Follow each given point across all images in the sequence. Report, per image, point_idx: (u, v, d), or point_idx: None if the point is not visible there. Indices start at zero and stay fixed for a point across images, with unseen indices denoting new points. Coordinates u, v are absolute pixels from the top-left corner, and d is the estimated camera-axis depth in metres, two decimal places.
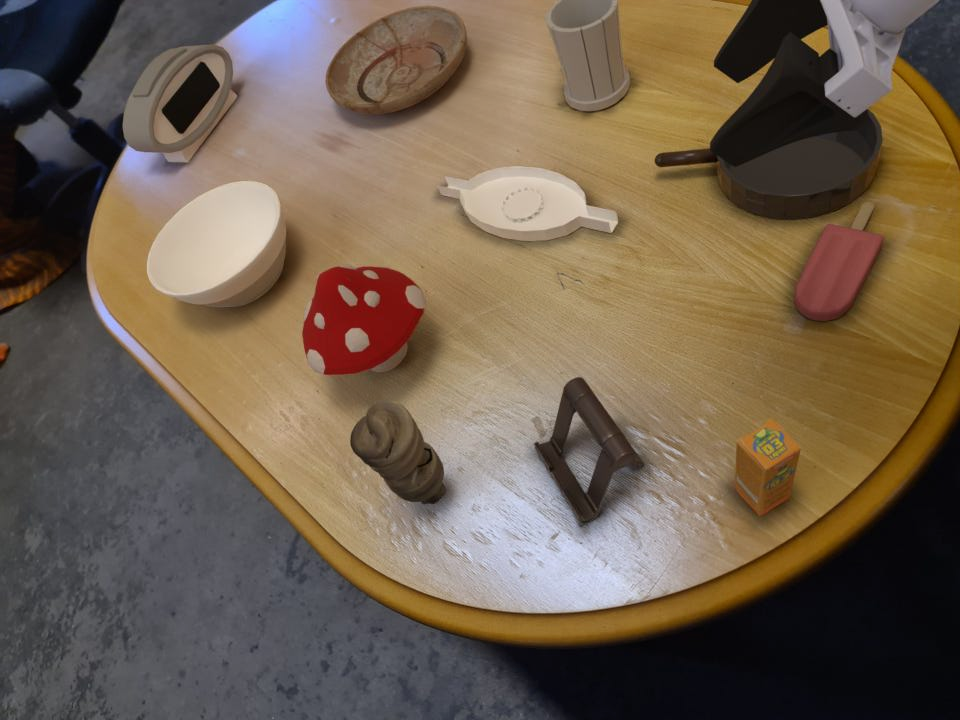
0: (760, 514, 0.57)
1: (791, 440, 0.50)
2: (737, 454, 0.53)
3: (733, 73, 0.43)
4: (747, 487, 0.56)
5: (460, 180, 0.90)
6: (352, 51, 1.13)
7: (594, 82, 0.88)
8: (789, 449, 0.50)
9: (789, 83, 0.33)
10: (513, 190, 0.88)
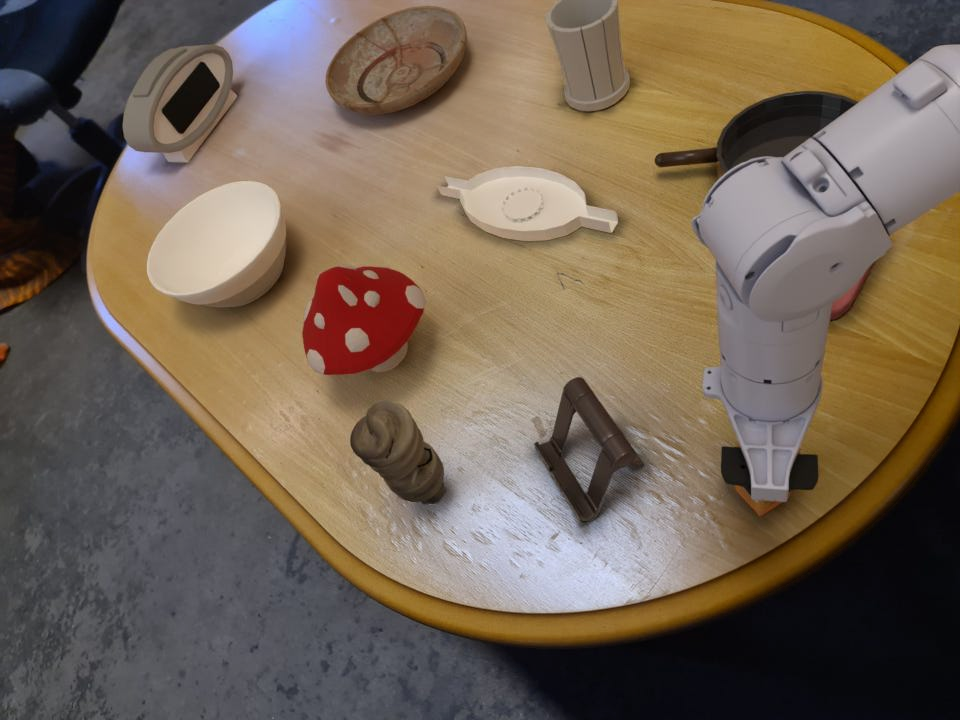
0: (760, 514, 0.57)
1: None
2: None
3: None
4: None
5: (460, 180, 0.90)
6: (352, 51, 1.13)
7: (594, 82, 0.88)
8: None
9: None
10: (513, 190, 0.88)
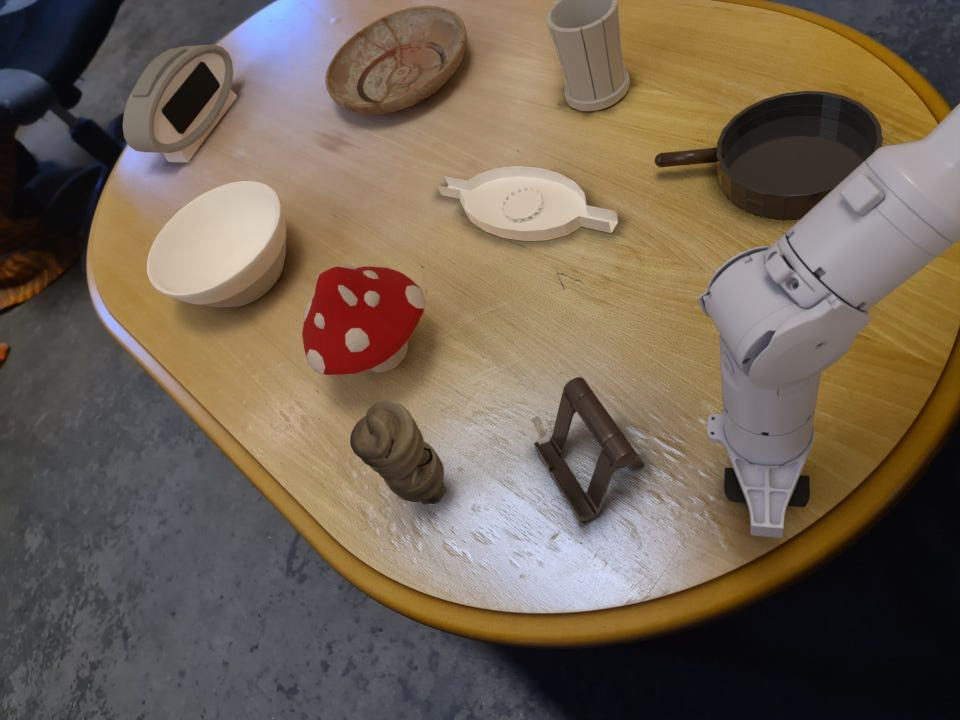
0: None
1: None
2: None
3: None
4: None
5: (460, 180, 0.90)
6: (352, 51, 1.13)
7: (594, 82, 0.88)
8: None
9: None
10: (513, 190, 0.88)
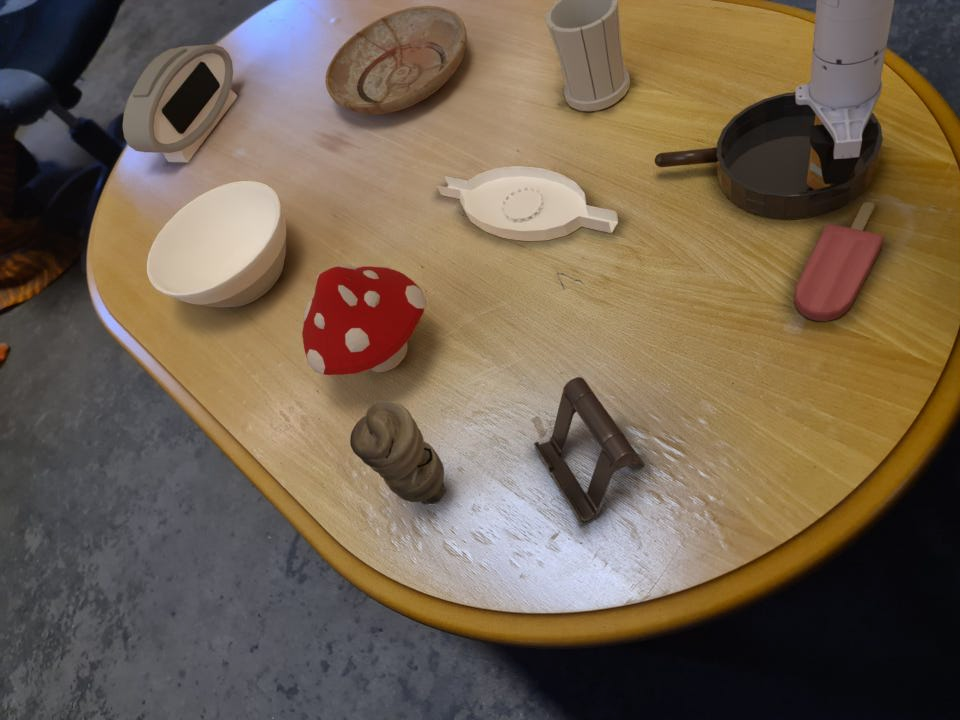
0: None
1: None
2: None
3: None
4: (820, 167, 0.70)
5: (460, 180, 0.90)
6: (352, 51, 1.13)
7: (594, 82, 0.88)
8: None
9: (819, 148, 0.64)
10: (513, 190, 0.88)
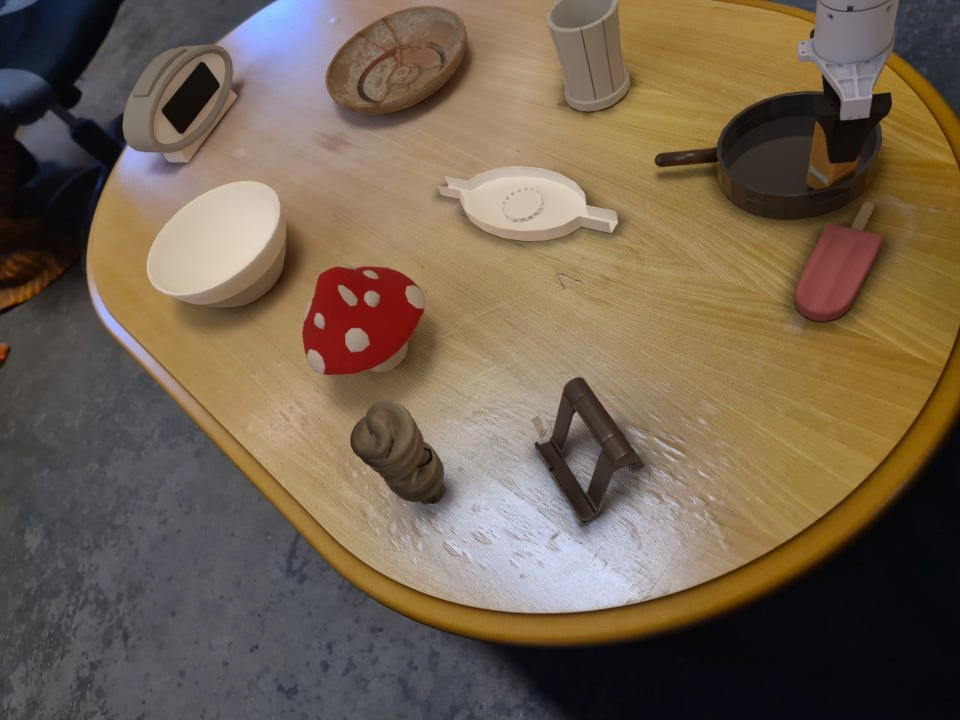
0: None
1: None
2: (814, 136, 0.67)
3: None
4: (819, 171, 0.70)
5: (460, 180, 0.90)
6: (352, 51, 1.13)
7: (594, 82, 0.88)
8: None
9: (825, 121, 0.57)
10: (513, 190, 0.88)
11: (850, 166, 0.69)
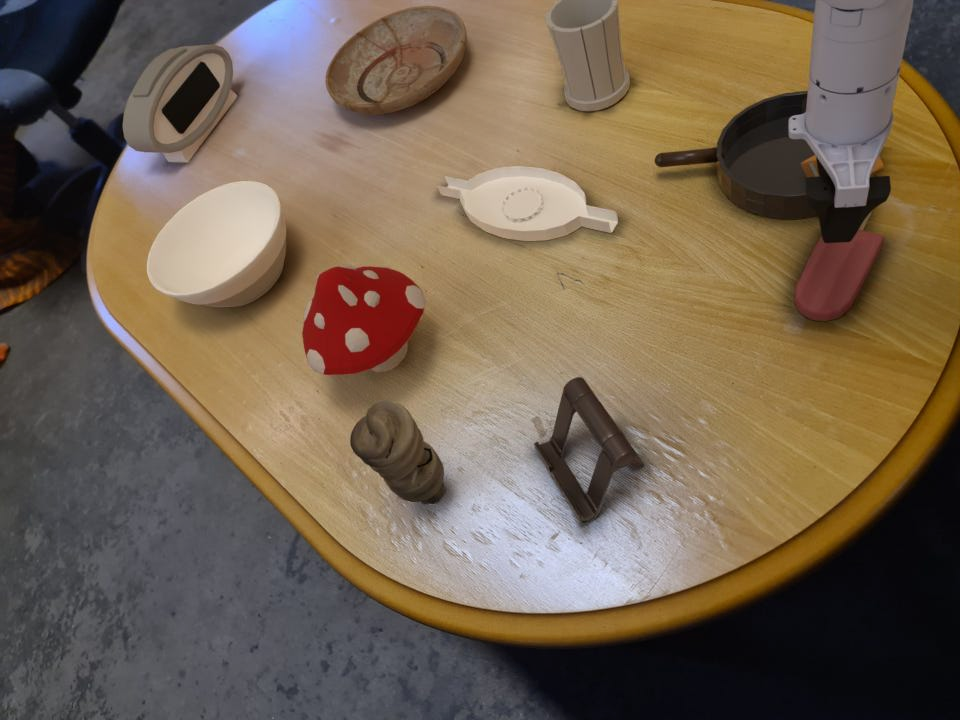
0: None
1: (879, 159, 0.63)
2: None
3: None
4: (818, 174, 0.70)
5: (460, 180, 0.90)
6: (352, 51, 1.13)
7: (594, 82, 0.88)
8: (875, 167, 0.63)
9: (818, 206, 0.52)
10: (513, 190, 0.88)
11: None
